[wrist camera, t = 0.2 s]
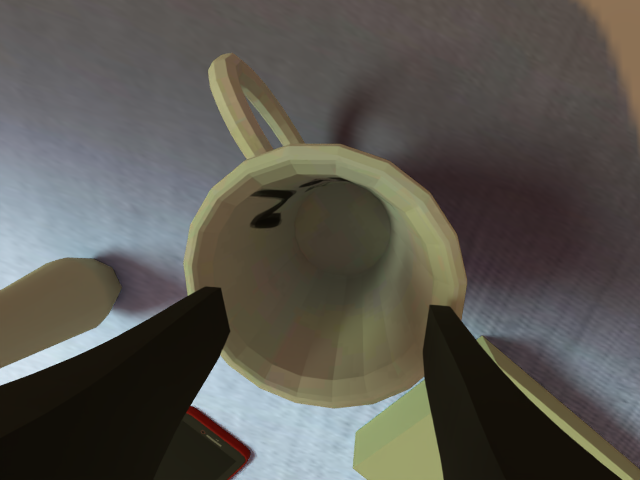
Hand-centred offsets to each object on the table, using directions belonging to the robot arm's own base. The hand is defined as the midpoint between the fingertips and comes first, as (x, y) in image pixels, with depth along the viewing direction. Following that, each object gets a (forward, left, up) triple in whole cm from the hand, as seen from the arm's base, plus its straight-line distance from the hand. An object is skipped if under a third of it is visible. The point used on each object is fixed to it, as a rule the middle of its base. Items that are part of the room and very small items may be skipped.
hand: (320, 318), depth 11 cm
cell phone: (-29, -3, -11) cm, 31 cm away
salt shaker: (-17, +13, -11) cm, 24 cm away
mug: (+1, +3, -11) cm, 11 cm away
